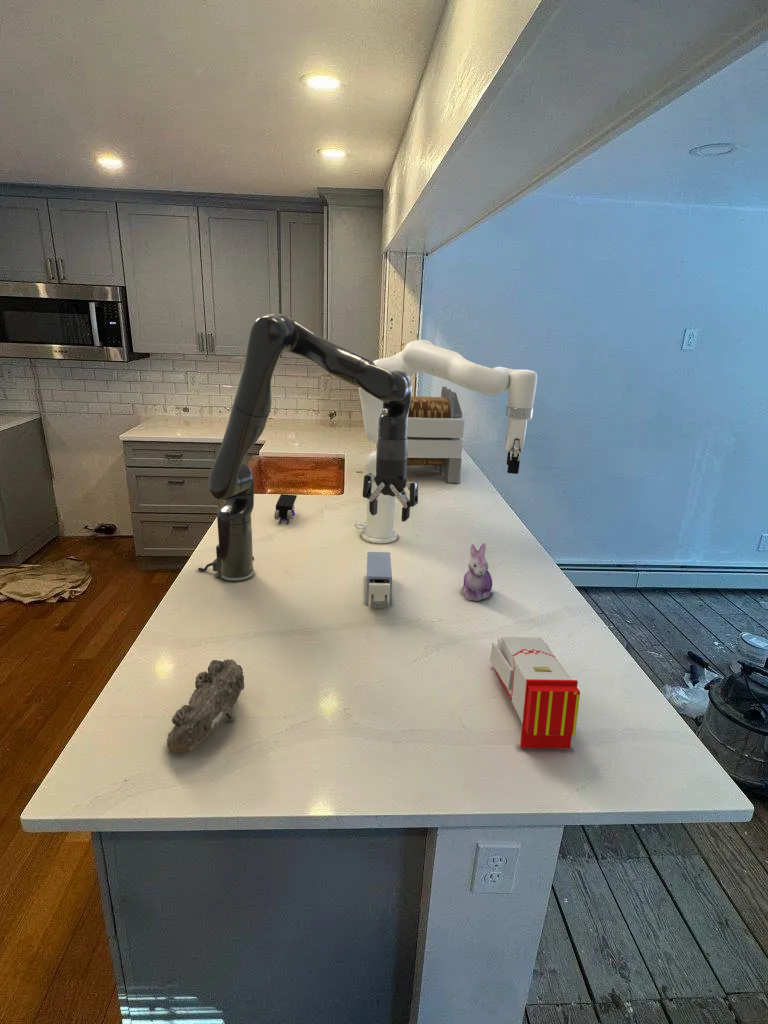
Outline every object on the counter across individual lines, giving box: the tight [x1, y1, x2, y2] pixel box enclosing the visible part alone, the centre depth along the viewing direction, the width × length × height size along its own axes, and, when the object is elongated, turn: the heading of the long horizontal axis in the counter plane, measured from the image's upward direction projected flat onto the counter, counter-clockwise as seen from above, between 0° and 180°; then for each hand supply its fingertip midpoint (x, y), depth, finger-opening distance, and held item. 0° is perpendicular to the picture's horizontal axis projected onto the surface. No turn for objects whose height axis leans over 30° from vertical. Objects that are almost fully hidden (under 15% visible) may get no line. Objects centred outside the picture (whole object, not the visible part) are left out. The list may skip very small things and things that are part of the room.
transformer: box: [407, 386, 465, 484], centre depth 268 cm, size 34×33×41 cm
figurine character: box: [274, 493, 298, 525], centre depth 208 cm, size 7×8×15 cm
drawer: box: [367, 579, 390, 609], centre depth 152 cm, size 21×5×6 cm, turn 1°
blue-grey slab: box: [365, 551, 393, 606], centre depth 158 cm, size 16×7×8 cm, turn 1°
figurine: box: [462, 542, 493, 602], centre depth 157 cm, size 9×10×15 cm
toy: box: [489, 636, 581, 749], centre depth 115 cm, size 12×13×30 cm
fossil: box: [166, 658, 245, 754], centre depth 106 cm, size 22×10×15 cm
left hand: (389, 517), depth 144 cm, fingers open, 8 cm apart
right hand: (512, 469), depth 173 cm, fingers open, 9 cm apart
